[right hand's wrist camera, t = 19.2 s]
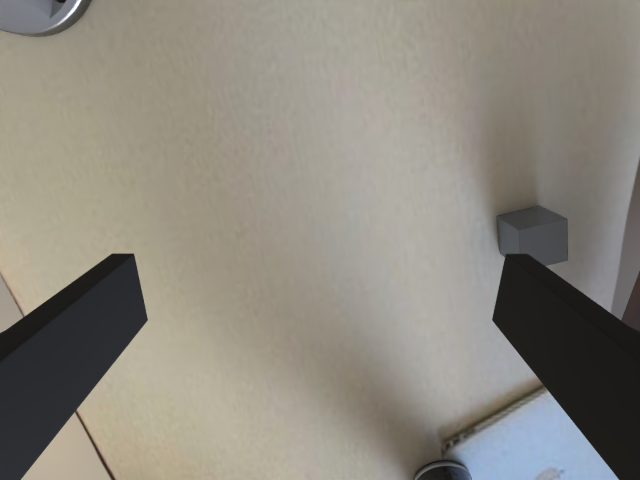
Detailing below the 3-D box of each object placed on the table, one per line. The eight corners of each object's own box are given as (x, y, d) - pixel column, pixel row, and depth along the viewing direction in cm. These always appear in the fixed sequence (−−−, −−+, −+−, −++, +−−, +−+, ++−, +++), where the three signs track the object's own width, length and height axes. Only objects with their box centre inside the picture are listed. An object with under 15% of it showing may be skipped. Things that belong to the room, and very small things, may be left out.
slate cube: (496, 215, 42) (518, 230, 37) (539, 205, 41) (567, 218, 37) (499, 253, 43) (521, 271, 39) (541, 243, 43) (568, 260, 38)
